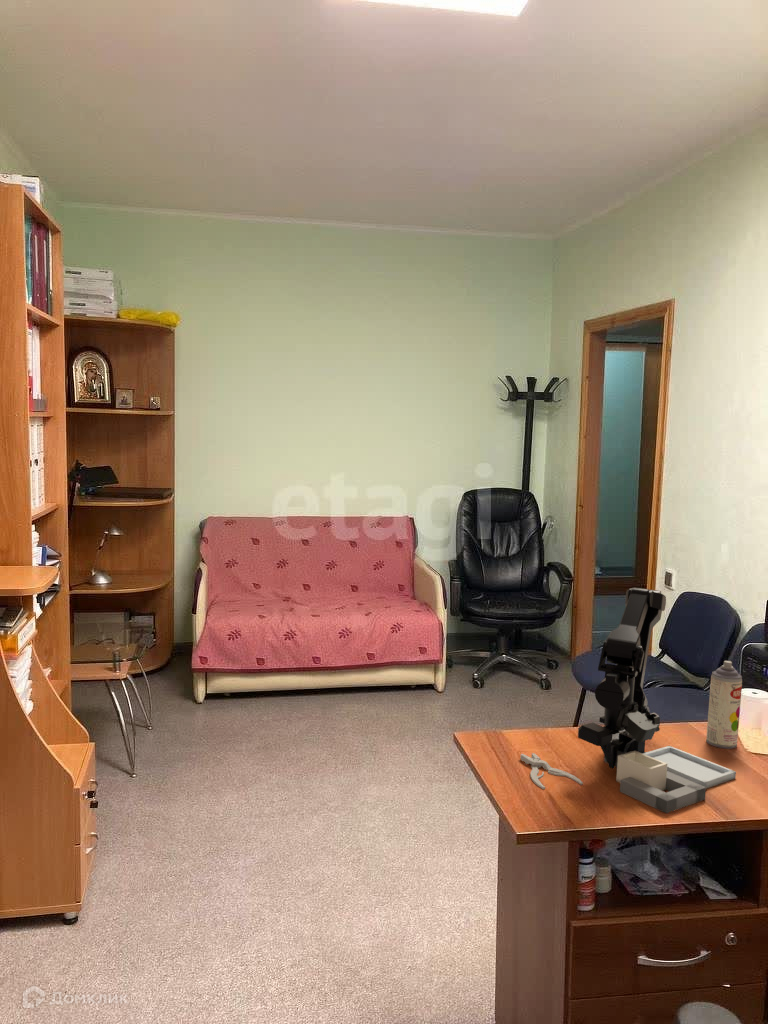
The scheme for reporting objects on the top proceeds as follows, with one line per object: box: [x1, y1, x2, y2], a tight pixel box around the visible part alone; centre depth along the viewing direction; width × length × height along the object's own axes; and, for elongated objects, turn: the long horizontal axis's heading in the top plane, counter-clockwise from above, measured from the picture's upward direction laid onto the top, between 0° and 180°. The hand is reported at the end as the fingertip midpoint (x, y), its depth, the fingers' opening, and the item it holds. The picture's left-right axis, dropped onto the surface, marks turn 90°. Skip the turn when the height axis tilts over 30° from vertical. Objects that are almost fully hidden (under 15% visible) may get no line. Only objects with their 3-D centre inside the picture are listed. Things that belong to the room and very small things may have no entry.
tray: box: [643, 745, 737, 790], centre depth 176 cm, size 17×11×2 cm
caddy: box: [603, 750, 667, 792], centre depth 168 cm, size 13×6×6 cm, turn 35°
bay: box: [619, 771, 707, 814], centre depth 162 cm, size 11×12×2 cm
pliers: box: [519, 752, 584, 790], centre depth 171 cm, size 10×2×15 cm
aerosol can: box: [705, 660, 743, 750], centre depth 192 cm, size 7×7×20 cm
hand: (614, 767), depth 172 cm, fingers closed on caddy
